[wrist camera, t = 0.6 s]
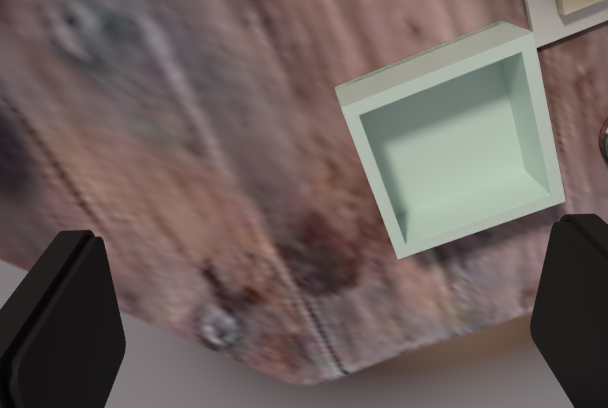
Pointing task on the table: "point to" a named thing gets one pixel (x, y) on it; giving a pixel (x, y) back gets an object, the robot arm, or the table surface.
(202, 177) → the table surface
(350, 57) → the table surface
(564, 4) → the cover
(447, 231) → the mint green open box
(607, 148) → the supplement bottle
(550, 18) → the mat
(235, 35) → the table surface
